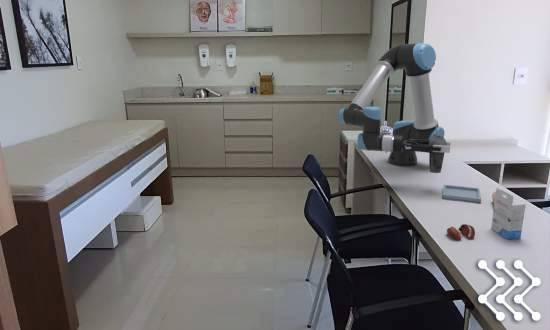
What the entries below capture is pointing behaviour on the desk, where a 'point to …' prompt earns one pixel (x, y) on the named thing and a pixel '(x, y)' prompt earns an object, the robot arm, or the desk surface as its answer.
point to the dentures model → (464, 230)
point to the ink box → (507, 215)
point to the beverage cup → (436, 154)
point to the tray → (461, 193)
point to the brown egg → (495, 196)
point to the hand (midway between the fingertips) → (450, 147)
